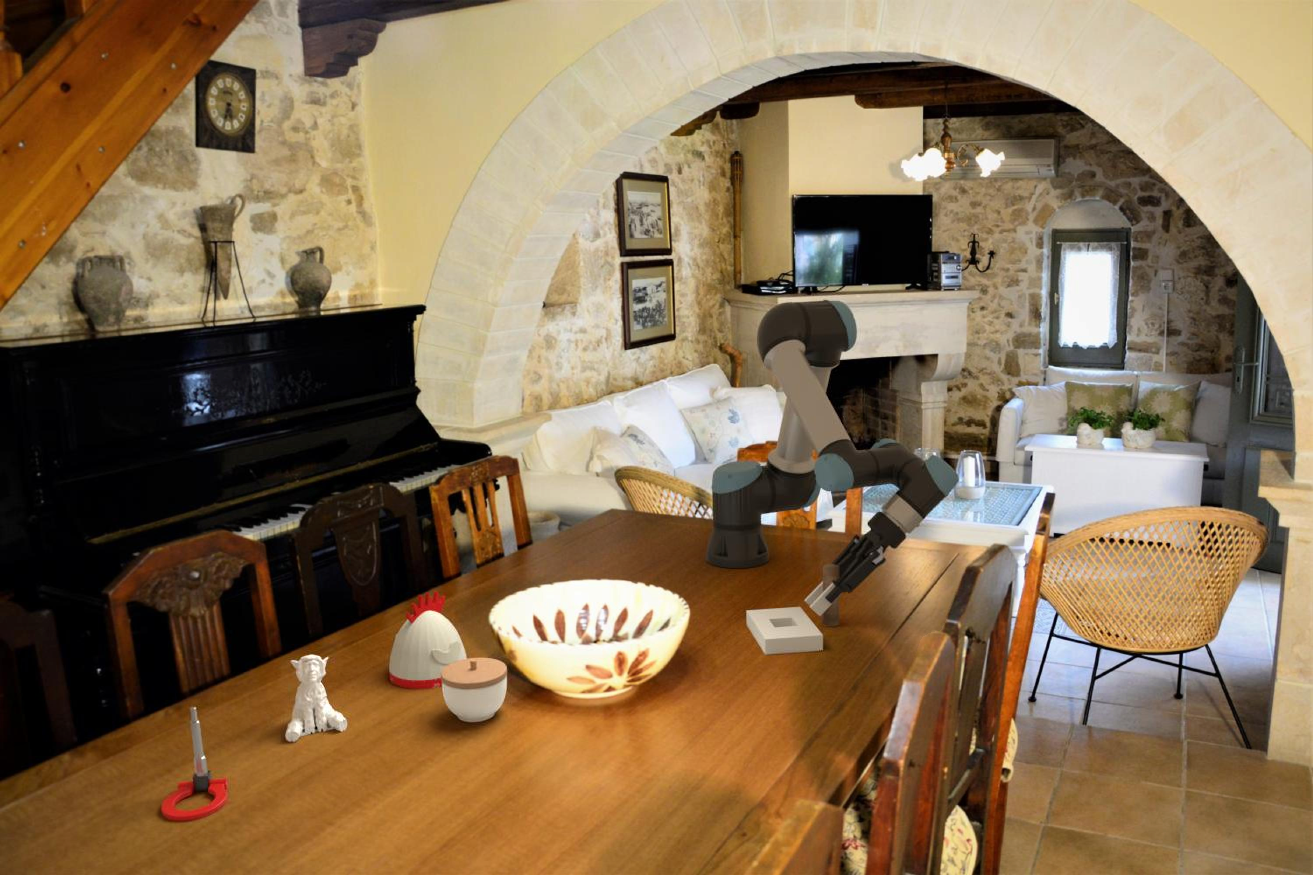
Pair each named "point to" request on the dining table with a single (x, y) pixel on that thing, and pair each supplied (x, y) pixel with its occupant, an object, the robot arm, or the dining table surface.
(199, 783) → the tow hook
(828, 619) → the peg
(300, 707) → the white creature statuette
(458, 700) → the lidded jar
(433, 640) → the kitchen timer
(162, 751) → the dining table surface
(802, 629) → the hole block
